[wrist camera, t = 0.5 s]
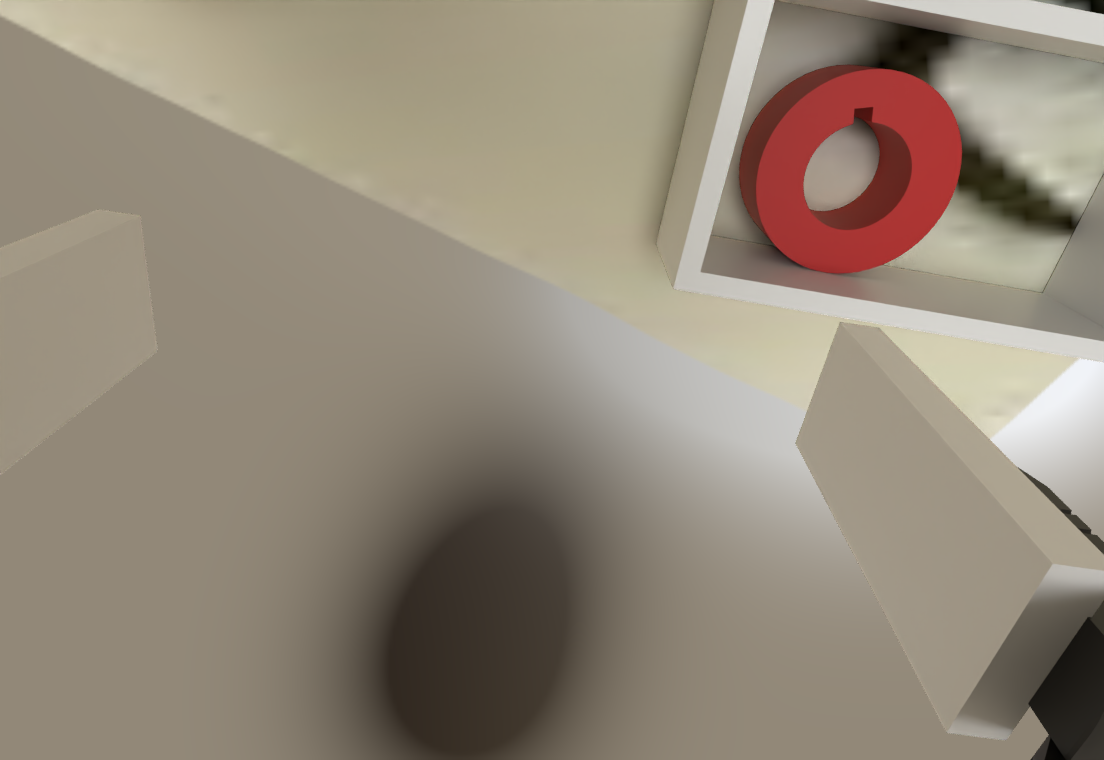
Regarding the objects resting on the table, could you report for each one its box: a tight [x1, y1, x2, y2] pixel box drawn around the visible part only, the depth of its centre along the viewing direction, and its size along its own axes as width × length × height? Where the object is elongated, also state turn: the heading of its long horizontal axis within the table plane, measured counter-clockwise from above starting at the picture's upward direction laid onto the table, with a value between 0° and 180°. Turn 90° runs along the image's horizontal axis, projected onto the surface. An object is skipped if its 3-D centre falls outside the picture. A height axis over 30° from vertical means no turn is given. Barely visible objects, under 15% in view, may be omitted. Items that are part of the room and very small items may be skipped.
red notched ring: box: [739, 65, 962, 274], centre depth 34 cm, size 18×9×7 cm, turn 6°
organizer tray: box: [656, 0, 1104, 362], centre depth 33 cm, size 14×23×8 cm, turn 81°
